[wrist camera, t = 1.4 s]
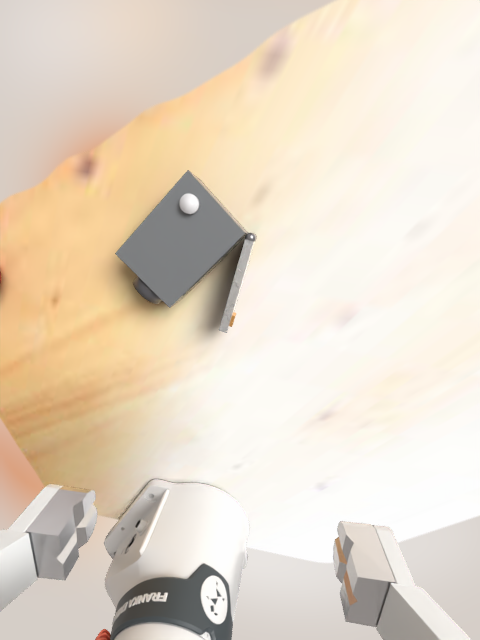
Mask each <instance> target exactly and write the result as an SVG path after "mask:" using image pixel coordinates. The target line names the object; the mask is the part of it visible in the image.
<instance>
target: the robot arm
mask: <svg viewBox="0 0 480 640" xmlns="http://www.w3.org/2000/svg"><path fill="white" fill-rule="evenodd" d="M95 499H96V496H95V491H93V490H88V489H82V488H75V487H69V486H62V485H55V484H49V485H47V486H46V487H44V488H43V490H42V491H41V492H40V493H39V494H38V495H37V496H36V498H35V499H34V500H33V501H32V502H31V503H30V505H29V506H28V507H27V508H26V509H25V510H24V511H23V512H22V514H21V515H20V516H19V517H18V518H17V519H16V520H15V522H14V523H13V524H12V525H11V526H10V528H9V529H8V530H4V529H3V530H1V531H0V611H1V610H3V609H4V608H5V607H6V606H7V605H8V604H10V603H11V602H12V601H13V600H14V599H15V598H17V597H18V596H19V595H20V594H21V593H22V592H24V590H26V589H27V588H28V587H29V586H30V585H32V584H33V583H34V582H35V581H36V580H37V577H38V578H48V579H57V580H66V578H67V576H68V575H69V573H70V571H71V569H72V568H73V566H74V564H75V563H76V561H77V559H78V557H79V550H78V549H79V548H80V547H81V546H83V545H84V544H85V543H87V542H88V540H89V538H90V536H91V534H92V533H93V530H94V527H95V524H96V520H97V508H96V507H95V506H94V505H93V502H94V501H95ZM249 531H250V525H249V519H248V516H247V514H246V512H245V510H244V509H243V507H242V506H241V505H240V503H239V502H238V501H237V500H236V499H234V498H233V497H232V496H231V495H229V494H228V493H226V492H224V491H223V490H221V489H218V488H216V487H213V486H210V485H206V484H201V483H171V482H168V481H164V480H159V479H154V480H151V481H150V482H149V483H148V484H147V486H146V487H145V488H144V489H143V491H142V492H141V493H140V494H139V496H138V497H137V498H136V499H135V501H134V502H133V503H132V504H131V506H130V507H129V508H128V509H127V511H126V512H125V513H124V514H123V516H122V517H121V518H120V519H119V521H118V522H117V523H116V524H115V526H114V527H113V528H112V530H111V531H110V532H109V533H108V535H107V536H106V539H105V542H104V545H105V547H106V550H107V551H108V553H109V555H110V556H111V557H112V559H113V561H112V563H111V565H110V567H109V569H108V572H107V574H106V578H105V587H106V590H107V593H108V595H109V597H110V598H111V600H112V602H113V604H114V606H115V607H116V613H115V616H114V619H113V623H112V624H113V627H112V632H111V634H110V633H109V632H108V631H107V630H106V629H103V630H102V631H101V632H100V633H99V634H98V635H99V636H97V637H96V639H95V640H231V637H232V626H233V619H234V616H235V610H236V605H237V599H238V593H239V587H240V580H241V574H242V569H244V568H245V567H246V565H247V559H248V554H247V550H246V543H247V540H248V536H249ZM337 531H338V535H339V537H338V538H337V539H335V542H334V548H333V559H334V567H335V572H336V577H337V578H338V579H339V581H340V582H341V583H342V587H341V591H340V596H341V601H342V606H343V610H344V615H345V619H346V622H351V623H356V624H362V625H367V626H373V627H377V631H378V632H379V634H380V636H381V637H382V639H383V640H471V639H470V638H469V636H468V635H467V634H466V633H465V632H464V631H463V630H462V629H461V628H460V627H459V626H458V625H457V624H456V623H455V622H454V621H453V620H452V619H451V618H450V617H449V616H448V615H447V613H445V612H444V610H443V609H442V608H441V607H440V606H439V605H438V604H437V603H436V602H435V601H434V600H433V599H432V598H431V597H430V596H429V595H428V594H427V593H426V591H425V590H424V589H423V588H422V587H418V586H416V585H415V582H414V580H413V578H412V576H411V573H410V571H409V569H408V566H407V564H406V562H405V559H404V557H403V555H402V553H401V550H400V548H399V546H398V543H397V541H396V539H395V536H394V534H393V532H392V530H391V529H390V528H389V527H384V526H376V525H371V524H362V523H353V522H345V521H340V522H339V524H338V528H337Z"/></svg>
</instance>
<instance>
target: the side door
mask: <svg viewBox="0 0 480 640" xmlns="http://www.w3.org/2000/svg"><path fill="white" fill-rule="evenodd" d="M256 239H257V236H256V234H254V233H248V234H246V236H245V241H244V245H243V248H242V252H241V255H240V259H239V262H238V265H237V269H236V272H235V276H234V279H233V283H232V286H231V290H230V293H229V297H228V300H227V304H226V307H225V310H224V314H223V317H222V321H221V324H220V328H219V331H222V332H225V333H227V331H228V328H229V326H230V327H232V325H233V322H234V319H235V316H236V313H234V311H235V307H236V304H237V301H238V297H239V294H240V291H241V287H242V284H243V281H244V277H245V274H246V271H247V267H248V264H249V261H250V257H251V254H252V250H253V247H254V244H255V241H256Z"/></svg>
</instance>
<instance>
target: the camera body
mask: <svg viewBox="0 0 480 640" xmlns="http://www.w3.org/2000/svg"><path fill="white" fill-rule="evenodd" d="M246 234H248V232H247V231H246V230H245V229H244V228H243V227H242V226H241V224H240V223H239V222H238V221H237V220H236V219H235V218H234V217H233V216H232V215H231V213H230V212H229V211H228V210H227V209H226V208H225V207H224V206H223V205H222V203H221V202H220V201H219V200H218V199H217V198H216V197H215V196H214V195H213V193H212V192H211V191H210V190H209V189H208V188H207V187H206V186H205V185H204V183H203V182H202V181H201V180H200V179H199V178H197V177H196V176H195V175H194V174H192V173H191V172H190V171H189V170H188V171H187V172H186V173H185V174H184V175H183V176H182V178H181V179H180V180H179V181H178V182H177V183H176V184H175V186H174V187H173V188H172V189H171V190H170V191H169V193H168V194H167V195H166V196H165V197H164V198H163V199H162V201H161V202H160V203H159V204H158V205H157V206H156V207H155V209H154V210H153V211H152V212H151V213H150V214H149V215H148V217H147V218H146V219H145V220H144V221H143V222H142V223H141V225H140V226H139V227H138V228H137V229H136V230H135V231H134V233H133V234H132V235H131V236H130V237H129V238H128V239H127V241H126V242H125V243H124V244H123V245H122V246H121V247H120V249H119V250H118V251H117V252H116V253H115V254H116V255H117V256H118V257H119V258H120V259H121V260H122V261H123V262H124V263H125V264H126V265H127V266H128V267H129V268H130V269H131V270H132V271H133V272H134V273H135V274H136V275H137V277H136V278H135V279H134V281H133V285H134V287H135V289H136V290H137V291H138V293H139V294H140V295H141V296H142V297H144V298H145V299H146V300H148V301H150V302H152V303H154V304H159V303H160V302H161V301H163V302H164V303H165V304H166V305H167V306H168V307H169V308H170V307H171V306H173V305H174V304H175V303H177V302H178V301H179V300H181V299H182V298H183V297H184V296H185V295H186V294H187V293H188V292H189V291H191V290H192V289H193V288H194V287H195V286H196V285H197V284H198V283H199V282H200V281H201V280H202V279H203V278H204V277H205V276H206V275H207V274H208V273H209V272H210V271H211V270H212V269H213V268H214V267H215V266H216V265H217V264H218V263H219V262H220V261H221V260H222V259H223V258H224V257H225V256H226V255H227V254H228V253H229V252H230V251H231V250H232V249H233V248H234V247H235V246H236V245H237V244H238V243H239V242H240V241H241V240H242V239H243V238H244V237H245V236H246Z"/></svg>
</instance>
